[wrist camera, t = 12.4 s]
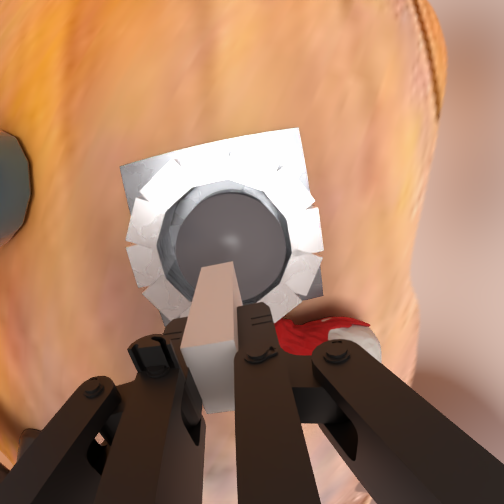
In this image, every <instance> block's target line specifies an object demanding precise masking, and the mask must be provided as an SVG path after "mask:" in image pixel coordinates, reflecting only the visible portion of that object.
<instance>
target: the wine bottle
mask: <svg viewBox="0 0 504 504" xmlns="http://www.w3.org/2000/svg"><path fill="white" fill-rule="evenodd" d="M30 197H31V183H30V168H29V161H28V159H27V157H26V155H25V153H24V151H23V149H22V147H21V145H20V143H19V141H18V139H17V138H16V137H14V136H12V135H10V134H8V133H6V132H4V131H2V130H0V246H2V245H4V244H6V243H8V242H9V240H10V239H11V238H12V237H13V235H14V234H15V233H16V232H17V230H18V229H19V228H20V227H21V226H22V224H23V223H24V221H25V217H26V212H27V208H28V204H29V200H30Z"/></svg>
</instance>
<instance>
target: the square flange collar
mask: <svg viewBox="0 0 504 504" xmlns="http://www.w3.org/2000/svg"><path fill="white" fill-rule="evenodd" d="M120 170H121V175H122V180H123V184H124V189H125V193H126V198H127V202H128V206H129V210H130V214H131V219H130V223H129V227H128V232H127V236H126V241H129V242H132V243H131V244H129V245H128V246H127V247H126V250H127V253H128V257H129V260H130V263H131V267H132V270H133V273H134V276H135V279H136V282H137V285H138V288H140V287H146V286H147V287H146V288H145V290H144V291H143V293H142V294H143V295H144V296H145V297H146V298H147V299H148V300H149V301H150V302H151V303H152V304H153V305H154V306H155V307H156V308H157V309H158V310H159V311H160V314H161V317H162V320H163V323H164V326H165V327H166V326H167V325H168V324H169V323H170V322H171V321H172V320H173V319H176V318H182V317H188V315H189V311H190V308H191V304H192V300H193V296H194V293H195V289H194V288H193V287H192V286H191V285H190V284H189V283H188V282H187V280H186V279H185V278H184V276H183V274H182V273H181V270H180V268H179V266H178V262H177V258H176V239H177V235H178V231H179V229H180V226H181V225H182V223H183V221H184V219H185V218H186V217H187V215H188V214H189V213H190V212H191V211H192V210H193V209H194V207H195V206H196V205H197V204H198V203H199V202H200V201H201V200H202V199H204V198H205V197H206V196H208V195H210V194H211V193H214V192H216V191H220V190H225V189H236V190H241V191H245V192H247V193H250V194H252V195H253V196H255V197H256V198H258V199H259V200H260V201H261V202H262V203H263V204H264V205H265V206H266V207H267V208H268V209H269V211H270V212H271V213H272V214H273V215H274V216H275V217H276V219H277V220H278V222H279V224H280V226H281V228H282V230H283V233H284V237H285V242H286V254H285V260H284V264H283V267H282V269H281V271H280V273H279V275H278V277H277V278H276V279H275V281H274V282H273V283H272V284H271V285H270V286H269V287H268V288H267V289H266V290H265V291H263V292H262V293H260V294H258V295H256V296H255V297H252V298H249V299H247V300H242V304H243V305H249V304H254V303H259V302H264V303H265V304H267V305H268V306H269V307H270V310H271V314H272V318H273V322H274V323H276V322H277V321H278V320H279V319H281V318H282V317H283V316H285V315H286V314H287V313H288V312H290V311H291V310H292V309H293V308H295V307H296V306H297V305H298V304H300V303H301V302H302V301H303V300H308V299H312V298H316V297H321V296H323V288H322V279H321V270H320V263H321V261H322V258H323V257H322V256H321V255H320V254H319V253H318V252H320V251H324V249H323V240H322V232H321V225H320V218H319V210H318V207H316V206H314V205H312V203H313V202H314V201H315V200H314V199H313V197H312V196H311V195H310V189H309V183H308V177H307V171H306V165H305V160H304V154H303V149H302V143H301V138H300V133H299V127H298V128H290V129H283V130H276V131H270V132H264V133H258V134H252V135H246V136H241V137H236V138H230V139H225V140H221V141H216V142H211V143H206V144H202V145H198V146H193V147H189V148H185V149H181V150H177V151H173V152H169V153H165V154H161V155H158V156H154V157H150V158H147V159H143V160H140V161H136V162H133V163H130V164H126V165H123V166H120Z"/></svg>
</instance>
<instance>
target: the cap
mask: <svg viewBox="0 0 504 504" xmlns="http://www.w3.org/2000/svg"><path fill="white" fill-rule="evenodd" d="M285 254H286V242H285V237H284V233H283V230H282V228H281V226H280V224H279V222H278V220H277V219H276V217H275V216H274V215H273V214H272V213H271V212H270V211H269V209H268V208H267V207H266V206H265V205H264V204H263V203H262V202H261V201H260V200H259V199H258V198H256V197H255V196H253V195H252V194H250V193H247V192H245V191H241V190H236V189H225V190H220V191H216V192H214V193H211V194H210V195H208V196H206V197H205V198H204V199H202V200H201V201H200V202H199V203H198V204H197V205H196V206H195V207H194V209H193V210H192V211H191V212H190V213H189V214H188V215H187V217H186V218H185V219H184V221H183V223H182V225H181V226H180V229H179V231H178V235H177V239H176V258H177V262H178V266H179V268H180V270H181V273H182V274H183V276H184V278H185V279H186V280H187V282H188V283H189V284H190V285H191V286H192V287H193V288H194V289H196V285H197V282H198V278H199V275H200V271H201V268H202V267H206V266H211V265H216V264H221V263H226V262H231V261H233V265H234V269H235V274H236V278H237V282H238V287H239V291H240V296H241V300H247V299H249V298H252V297H255V296H256V295H258V294H260V293H262V292H263V291H265V290H266V289H267V288H268V287H269V286H270V285H271V284H272V283H273V282H274V281H275V279H276V278H277V277H278V275H279V273H280V271H281V269H282V267H283V264H284V260H285Z"/></svg>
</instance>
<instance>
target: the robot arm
mask: <svg viewBox="0 0 504 504" xmlns="http://www.w3.org/2000/svg"><path fill="white" fill-rule="evenodd" d="M127 350H128V352H129V355H130V357H131V359H132V361H133V363H134V365H135V367H136V369H137V371H138V373H137V375H136V378H135V381H132V382H129V383H126V384H122V385H119V386H115V384H114V383H113V381H112V380H111V379H110V378H109V377H106V376H97V377H93V378H90V379H89V380H87V381H85V382H84V383H83V384H81V385H80V386H79V387H78V388H77V390H76V391H75V392H74V393H73V394H72V395H71V397H70V398H69V399H68V400H67V401H66V403H65V404H64V405H63V406H62V407H61V408H60V410H59V411H58V412H57V413H56V414H55V416H54V417H53V418H52V419H51V420H50V422H49V423H48V424H47V425H46V426H45V428H44V429H43V430H42V431H38V430H34V429H26V430H24V432H23V433H22V435H21V437H20V439H19V448H18V455H17V463H16V464H15V465H14V467H13V468H12V469H11V470H8V469H7V468H6V467H5V466H4V465H2V464H1V463H0V504H202V490H203V468H204V449H205V432H206V424H205V420H204V418H203V416H202V414H201V412H202V404H203V406H204V409H205V411H206V413H207V414H211V413H219V412H227V411H234V410H235V436H236V466H237V491H238V504H321V502H320V498H319V494H318V490H317V486H316V482H315V478H314V474H313V470H312V466H311V462H310V458H309V454H308V450H307V446H306V442H305V438H304V434H303V430H302V426H301V423H317V424H318V425H319V427H320V429H321V430H322V431H323V433H324V434H325V435H326V437H327V438H328V440H329V441H330V442H331V444H332V445H333V446H334V448H335V449H336V451H337V452H338V453H339V455H340V456H341V457H342V459H343V460H344V461H345V463H346V464H347V465H348V467H349V468H350V469H351V471H352V472H353V473H354V475H355V476H356V477H357V479H358V480H359V481H360V483H361V484H362V485H363V486H364V488H365V489H366V490H367V492H368V493H369V494H370V496H371V497H372V498H373V499H374V501H375V502H376V503H377V504H504V464H503V463H501V462H500V461H499V460H498V459H496V458H495V457H494V456H493V455H492V454H491V453H489V452H488V451H487V450H486V449H484V448H483V447H482V446H481V445H479V444H478V443H477V442H476V441H475V440H473V439H472V438H471V437H470V436H469V435H467V434H466V433H465V432H464V431H463V430H461V429H460V428H459V427H458V426H456V425H455V424H454V423H453V422H451V421H450V420H449V419H448V418H446V416H444V415H443V414H442V413H440V412H439V411H438V410H437V409H436V408H435V407H433V406H432V405H431V404H430V403H428V402H427V401H426V400H425V399H424V398H422V397H421V396H420V395H419V394H418V393H416V392H415V391H414V390H413V389H412V388H410V387H409V386H408V385H407V384H406V383H404V382H403V381H402V380H401V379H400V378H398V377H397V376H396V375H395V374H393V373H392V372H391V371H390V370H389V369H387V368H386V367H385V366H384V365H383V364H381V363H380V362H379V361H378V360H377V359H375V358H374V357H373V356H372V355H371V354H369V353H368V352H367V351H366V350H365V349H363V348H362V347H361V346H360V345H359V344H357V343H355V342H353V341H351V340H346V339H333V340H329V341H326V342H323V343H322V344H320V345H318V346H317V347H316V348H315V349H314V350H313V352H312V355H294V354H290V353H288V352H286V351H284V350H283V349H282V348H281V346H280V344H279V341H278V337H277V333H276V329H275V325H274V322H273V318H272V314H271V310H270V307H269V306H268V305H267V304H265V303H264V302H259V303H254V304H249V305H243V304H242V300H241V296H240V291H239V287H238V282H237V278H236V274H235V269H234V265H233V261H231V262H226V263H221V264H216V265H211V266H206V267H202V268H201V271H200V275H199V278H198V282H197V285H196V289H195V293H194V296H193V300H192V304H191V308H190V311H189V315H188V317H182V318H176V319H173V320H172V321H171V322H170V323H169V324H168V325H167V326H166V328H165V330H164V333H163V335H162V334H152V335H148V336H145V337H142V338H140V339H138V340H136V341H135V342H134V343H132V344H131V345H130V346H129V348H128V349H127ZM98 433H100V434H101V435H102V437H103V438H104V439H105V440H104V442H102V443H101V444H98V442H97V441H96V440H95V437H96V436H97V434H98Z"/></svg>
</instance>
